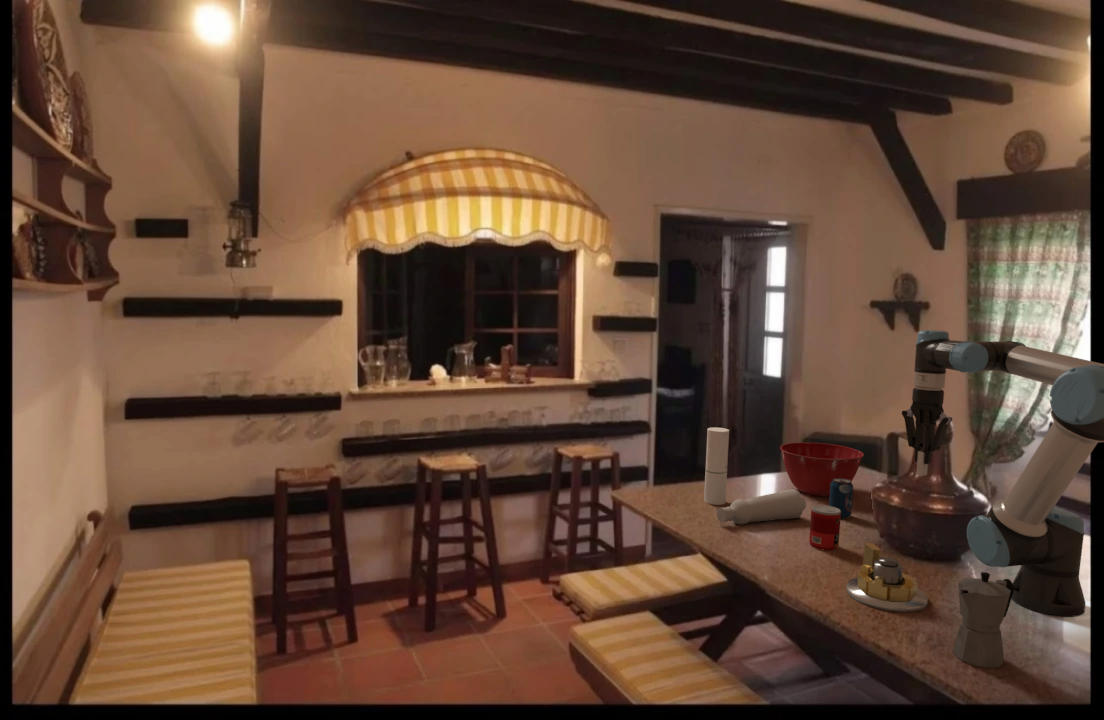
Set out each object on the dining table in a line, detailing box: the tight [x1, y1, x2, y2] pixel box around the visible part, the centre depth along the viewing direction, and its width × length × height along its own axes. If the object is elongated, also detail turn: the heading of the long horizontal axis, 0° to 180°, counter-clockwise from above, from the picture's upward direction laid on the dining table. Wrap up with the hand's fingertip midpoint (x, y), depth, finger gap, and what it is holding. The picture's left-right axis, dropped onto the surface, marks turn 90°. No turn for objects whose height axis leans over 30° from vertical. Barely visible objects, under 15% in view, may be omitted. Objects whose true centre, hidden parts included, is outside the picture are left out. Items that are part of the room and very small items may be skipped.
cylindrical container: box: [703, 427, 730, 506], centre depth 260 cm, size 7×7×25 cm
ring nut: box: [857, 542, 918, 601], centre depth 187 cm, size 12×17×8 cm
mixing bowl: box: [779, 441, 865, 497], centre depth 276 cm, size 28×28×15 cm
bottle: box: [716, 488, 807, 526], centre depth 241 cm, size 9×9×30 cm
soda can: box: [828, 478, 854, 519], centre depth 248 cm, size 7×7×12 cm
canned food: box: [808, 504, 841, 551], centre depth 219 cm, size 8×8×11 cm
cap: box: [846, 556, 928, 613], centre depth 185 cm, size 18×18×9 cm
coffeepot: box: [951, 571, 1015, 669], centre depth 155 cm, size 15×9×18 cm, turn 114°
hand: (921, 474), depth 206 cm, fingers closed
